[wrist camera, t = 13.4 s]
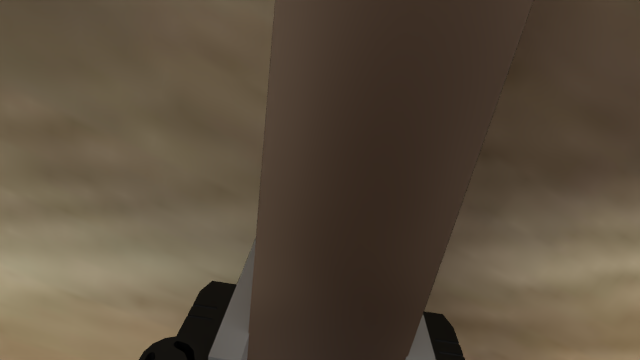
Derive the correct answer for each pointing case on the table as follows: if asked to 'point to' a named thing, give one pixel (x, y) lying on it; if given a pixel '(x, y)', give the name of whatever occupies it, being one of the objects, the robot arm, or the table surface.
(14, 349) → the table surface
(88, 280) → the table surface
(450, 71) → the brown and grey bar
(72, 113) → the table surface
